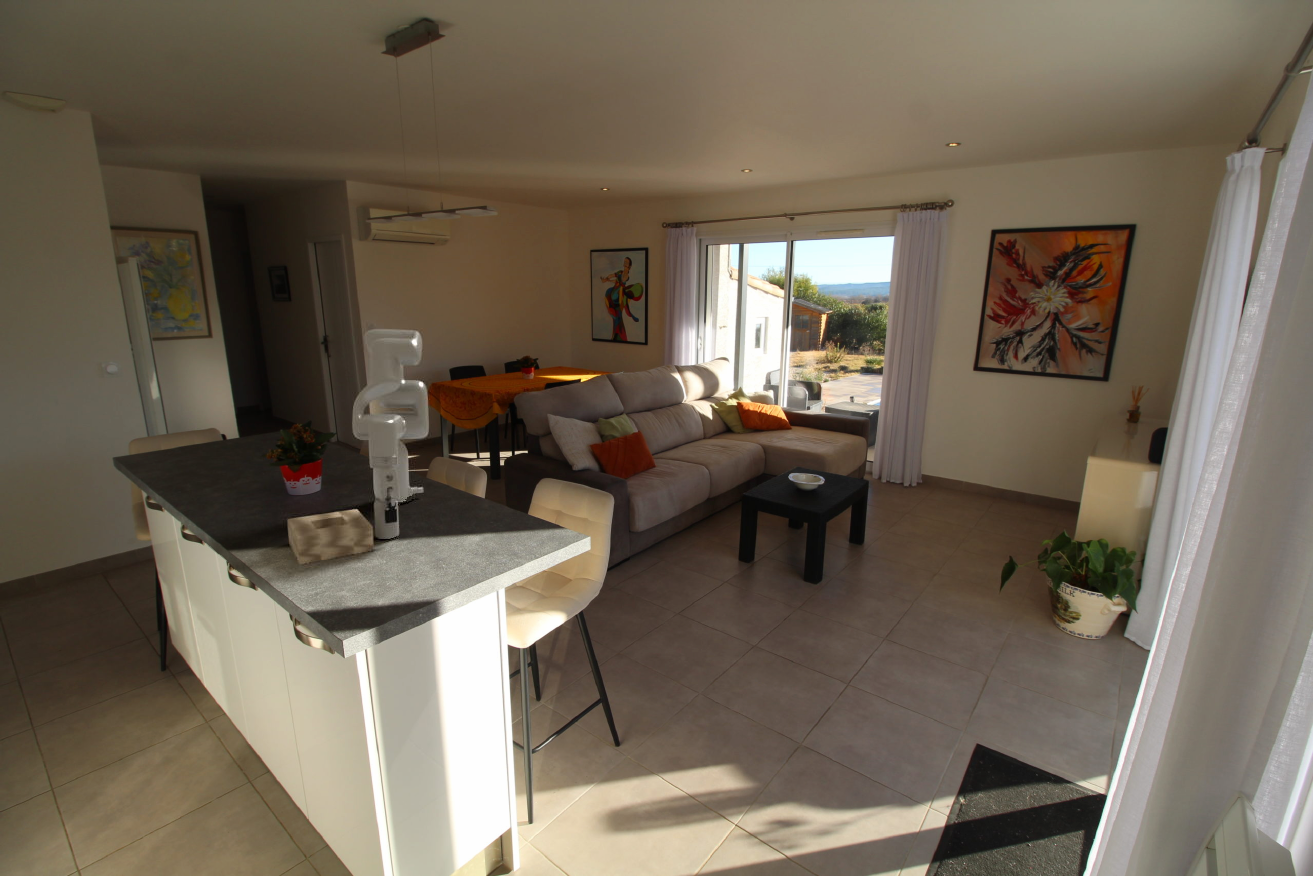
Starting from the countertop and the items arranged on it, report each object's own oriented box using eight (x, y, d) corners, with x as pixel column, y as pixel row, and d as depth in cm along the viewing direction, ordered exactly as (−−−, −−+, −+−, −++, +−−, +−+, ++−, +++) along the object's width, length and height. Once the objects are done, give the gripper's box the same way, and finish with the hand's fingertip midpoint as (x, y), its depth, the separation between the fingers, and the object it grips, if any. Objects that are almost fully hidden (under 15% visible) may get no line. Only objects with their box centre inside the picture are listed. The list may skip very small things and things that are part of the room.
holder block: (358, 531, 183) (356, 509, 181) (373, 550, 169) (372, 526, 168) (289, 543, 172) (287, 519, 170) (299, 564, 158) (297, 538, 157)
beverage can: (384, 542, 175) (382, 502, 173) (371, 537, 179) (369, 498, 176) (403, 536, 181) (402, 497, 178) (390, 532, 184) (388, 493, 182)
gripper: (406, 465, 171) (408, 523, 174) (389, 454, 184) (391, 508, 187) (378, 468, 166) (380, 528, 169) (362, 457, 179) (365, 512, 182)
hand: (386, 518), depth 178 cm, fingers open, 9 cm apart
